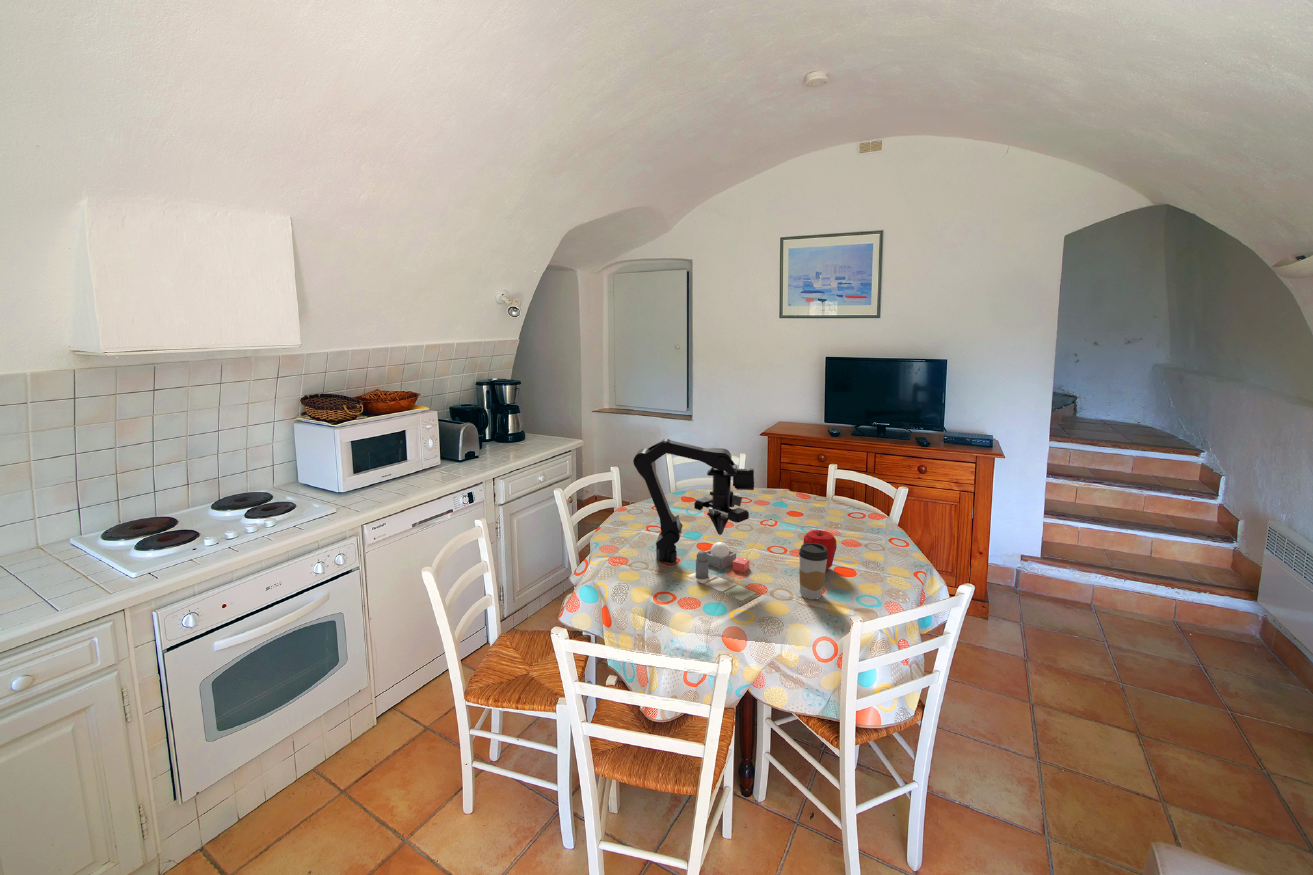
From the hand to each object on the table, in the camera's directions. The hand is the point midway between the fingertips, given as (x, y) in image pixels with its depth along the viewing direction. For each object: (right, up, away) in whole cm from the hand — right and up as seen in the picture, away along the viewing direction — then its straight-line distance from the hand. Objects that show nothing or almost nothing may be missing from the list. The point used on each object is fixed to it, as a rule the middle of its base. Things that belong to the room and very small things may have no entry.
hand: (720, 534), depth 196 cm
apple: (+32, -11, 0) cm, 34 cm away
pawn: (-6, -12, -8) cm, 16 cm away
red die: (+6, -12, -3) cm, 14 cm away
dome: (0, -9, +2) cm, 9 cm away
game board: (-1, -14, -13) cm, 19 cm away
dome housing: (0, -11, +2) cm, 11 cm away
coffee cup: (+25, -15, -17) cm, 34 cm away
